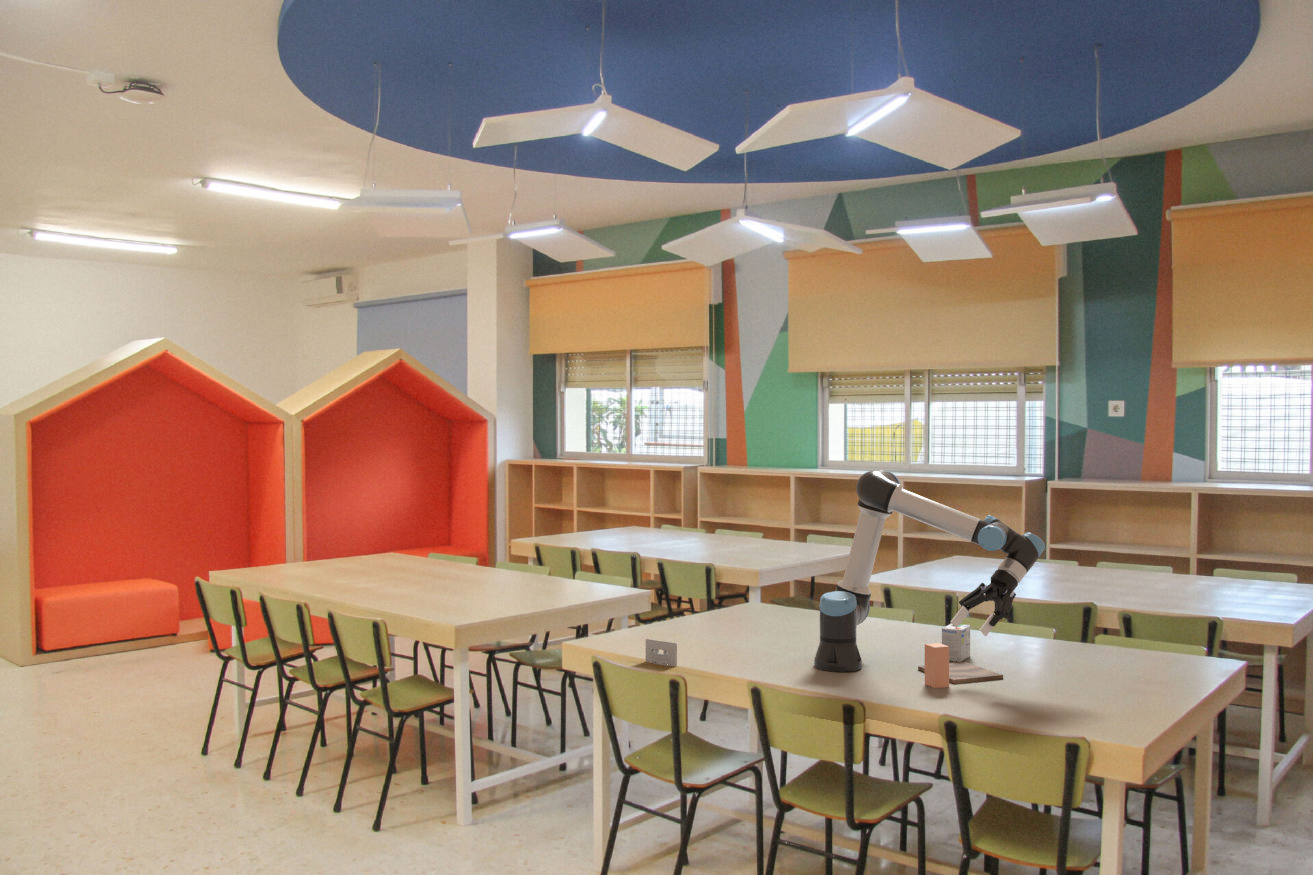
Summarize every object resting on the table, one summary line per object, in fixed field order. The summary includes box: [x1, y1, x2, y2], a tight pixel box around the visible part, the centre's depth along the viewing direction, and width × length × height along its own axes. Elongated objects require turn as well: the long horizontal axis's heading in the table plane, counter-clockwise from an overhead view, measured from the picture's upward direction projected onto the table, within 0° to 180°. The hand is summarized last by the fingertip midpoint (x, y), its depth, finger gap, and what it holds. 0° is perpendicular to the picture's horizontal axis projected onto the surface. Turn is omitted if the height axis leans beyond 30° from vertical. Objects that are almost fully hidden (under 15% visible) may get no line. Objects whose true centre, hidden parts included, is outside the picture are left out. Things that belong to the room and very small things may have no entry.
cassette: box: [645, 638, 678, 668], centre depth 299 cm, size 12×2×8 cm, turn 55°
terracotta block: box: [924, 642, 950, 689], centre depth 272 cm, size 5×5×12 cm
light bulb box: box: [941, 622, 971, 663], centre depth 308 cm, size 11×7×11 cm, turn 145°
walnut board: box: [917, 661, 1004, 685], centre depth 286 cm, size 18×18×1 cm
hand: (967, 628), depth 276 cm, fingers open, 13 cm apart
